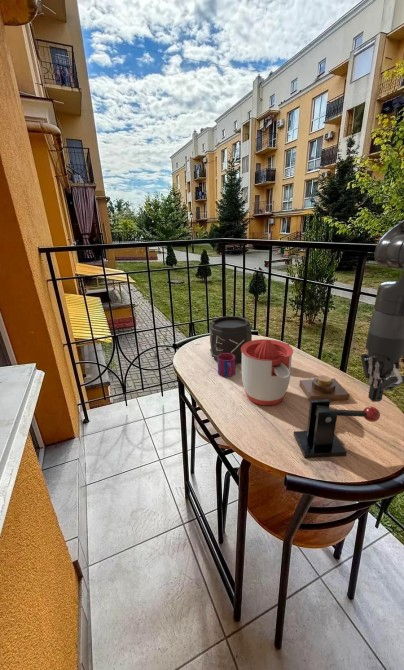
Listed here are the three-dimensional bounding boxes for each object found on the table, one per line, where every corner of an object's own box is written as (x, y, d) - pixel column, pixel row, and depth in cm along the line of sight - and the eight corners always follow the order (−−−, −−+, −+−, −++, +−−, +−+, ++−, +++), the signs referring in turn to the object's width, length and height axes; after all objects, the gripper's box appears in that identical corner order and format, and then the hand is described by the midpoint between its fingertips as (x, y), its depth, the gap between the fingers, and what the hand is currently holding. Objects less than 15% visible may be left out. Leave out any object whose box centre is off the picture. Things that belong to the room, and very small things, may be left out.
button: (327, 379, 93) (328, 375, 92) (332, 386, 89) (333, 381, 88) (315, 380, 93) (315, 375, 92) (320, 386, 89) (321, 381, 88)
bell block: (333, 383, 97) (335, 373, 95) (348, 400, 88) (350, 389, 86) (299, 385, 97) (300, 375, 95) (310, 402, 87) (311, 391, 86)
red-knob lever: (371, 415, 70) (376, 403, 69) (380, 425, 67) (385, 412, 65) (312, 413, 69) (315, 401, 68) (318, 422, 66) (322, 410, 65)
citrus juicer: (260, 419, 81) (262, 356, 74) (232, 389, 96) (231, 335, 89) (303, 405, 86) (309, 345, 79) (270, 379, 101) (273, 327, 94)
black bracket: (330, 433, 74) (336, 395, 70) (346, 456, 67) (353, 415, 63) (293, 435, 74) (297, 397, 70) (304, 458, 67) (309, 417, 63)
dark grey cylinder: (200, 356, 122) (198, 322, 116) (228, 344, 133) (228, 312, 127) (231, 370, 109) (231, 332, 103) (259, 355, 120) (260, 321, 114)
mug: (234, 368, 111) (234, 352, 108) (237, 381, 101) (237, 364, 99) (217, 369, 111) (216, 353, 108) (219, 382, 101) (218, 365, 99)
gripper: (430, 342, 54) (410, 416, 60) (386, 320, 66) (373, 384, 72) (391, 344, 54) (375, 418, 60) (355, 322, 66) (344, 385, 72)
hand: (374, 399), depth 66 cm, fingers closed
